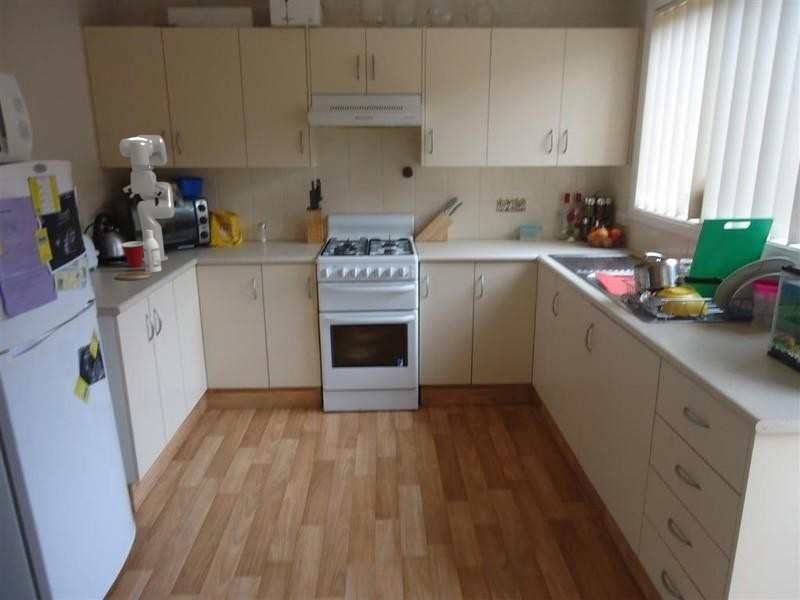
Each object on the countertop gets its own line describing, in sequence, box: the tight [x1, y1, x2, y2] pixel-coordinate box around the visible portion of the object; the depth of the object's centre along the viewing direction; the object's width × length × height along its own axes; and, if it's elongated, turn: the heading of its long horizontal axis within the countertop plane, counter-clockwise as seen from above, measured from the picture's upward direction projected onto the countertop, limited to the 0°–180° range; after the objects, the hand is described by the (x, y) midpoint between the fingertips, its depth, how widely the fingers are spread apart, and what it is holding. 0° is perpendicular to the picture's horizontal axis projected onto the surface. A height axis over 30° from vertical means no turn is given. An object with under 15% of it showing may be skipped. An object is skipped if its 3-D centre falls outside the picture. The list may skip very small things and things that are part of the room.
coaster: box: [116, 270, 153, 282], centre depth 256 cm, size 15×15×1 cm
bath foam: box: [143, 230, 162, 273], centre depth 265 cm, size 7×7×20 cm
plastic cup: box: [120, 240, 144, 268], centre depth 276 cm, size 11×11×12 cm
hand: (145, 206), depth 258 cm, fingers open, 9 cm apart
